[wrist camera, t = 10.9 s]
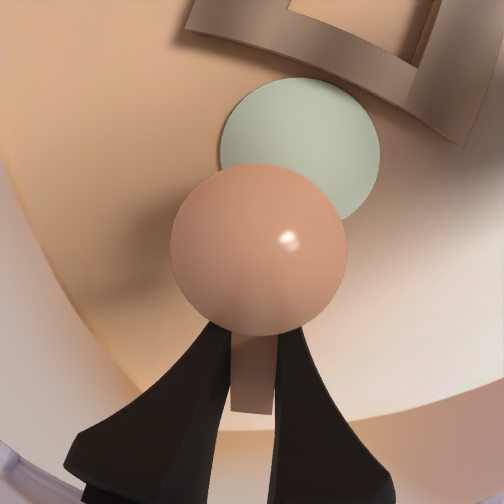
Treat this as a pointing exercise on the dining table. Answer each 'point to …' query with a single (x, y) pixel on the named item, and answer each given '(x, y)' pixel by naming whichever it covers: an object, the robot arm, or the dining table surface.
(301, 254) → the peach rounded piece
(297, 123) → the sage mat
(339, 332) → the dining table surface
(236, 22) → the walnut stand
